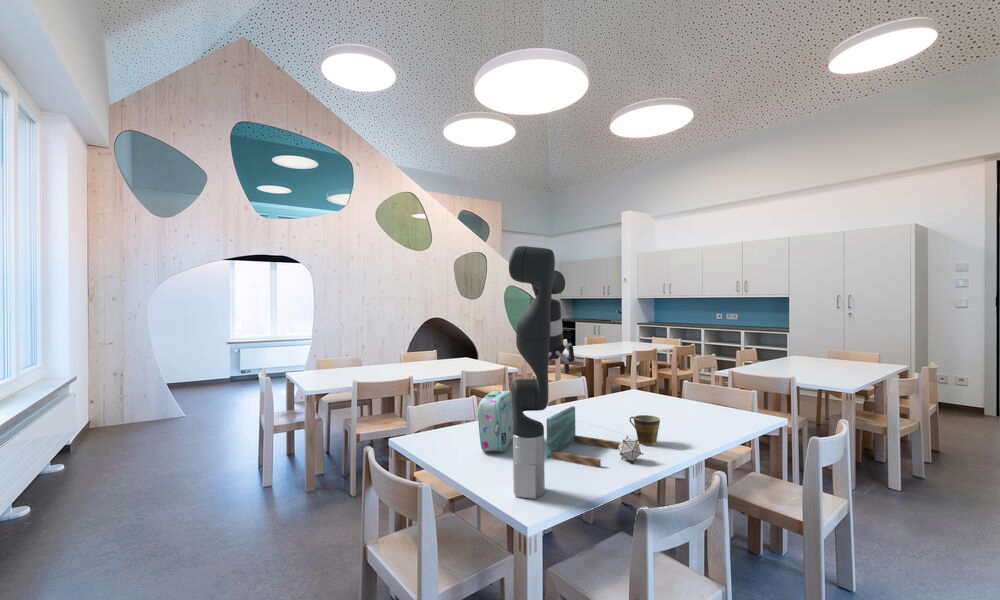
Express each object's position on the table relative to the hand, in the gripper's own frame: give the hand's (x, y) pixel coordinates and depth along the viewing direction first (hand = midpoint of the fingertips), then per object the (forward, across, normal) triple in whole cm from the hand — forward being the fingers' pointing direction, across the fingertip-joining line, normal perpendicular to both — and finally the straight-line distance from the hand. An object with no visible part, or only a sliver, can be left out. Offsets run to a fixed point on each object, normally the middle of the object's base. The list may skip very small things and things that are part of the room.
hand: (553, 374), depth 154 cm
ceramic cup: (+41, +36, +9) cm, 56 cm away
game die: (+34, +23, -9) cm, 42 cm away
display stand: (+35, +10, 0) cm, 37 cm away
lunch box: (+36, -21, +14) cm, 44 cm away
